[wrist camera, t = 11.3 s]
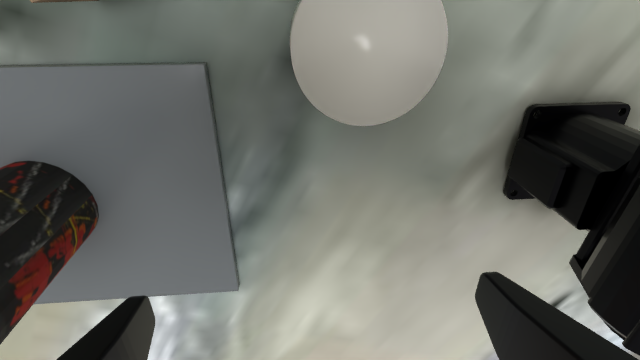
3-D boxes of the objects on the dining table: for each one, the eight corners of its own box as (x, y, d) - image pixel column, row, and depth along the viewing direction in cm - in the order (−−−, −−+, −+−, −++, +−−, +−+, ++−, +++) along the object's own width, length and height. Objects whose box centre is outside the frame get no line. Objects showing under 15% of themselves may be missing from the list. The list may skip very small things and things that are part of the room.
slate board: (206, 62, 19) (203, 64, 18) (239, 284, 26) (238, 290, 26) (-121, 67, 17) (-134, 70, 17) (12, 299, 25) (6, 306, 24)
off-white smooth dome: (426, -36, 18) (461, -44, 14) (409, 102, 21) (435, 123, 17) (286, -36, 17) (286, -45, 13) (292, 105, 20) (293, 128, 17)
